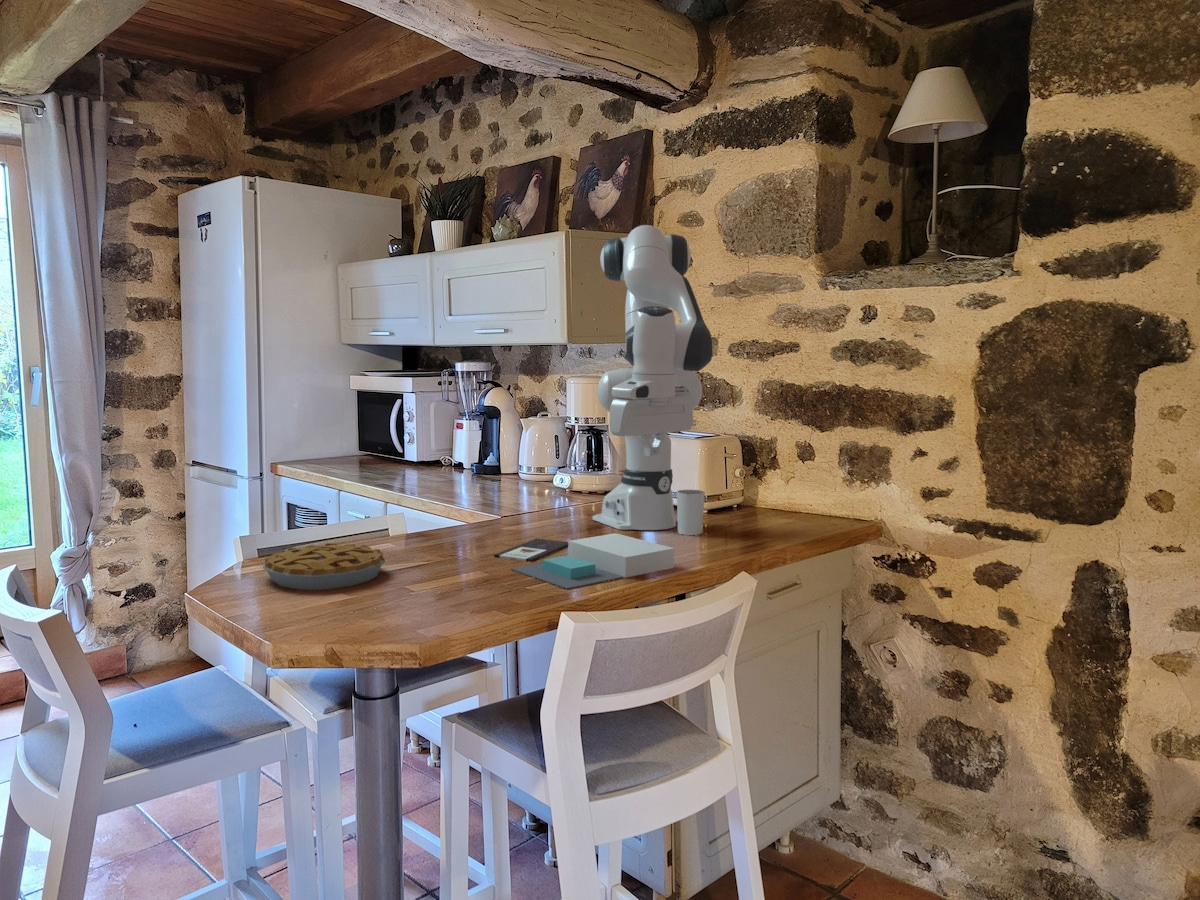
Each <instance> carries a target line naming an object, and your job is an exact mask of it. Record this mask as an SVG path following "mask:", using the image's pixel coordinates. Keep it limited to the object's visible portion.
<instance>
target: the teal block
mask: <svg viewBox="0 0 1200 900" xmlns="http://www.w3.org/2000/svg"><path fill="white" fill-rule="evenodd" d="M542 563H543V570H545V571H548V572H551V573H554V574H557V575H560V576H563V577H566V578H569V579H574V578H579V577H584V576H589V575H594V574H595V564H593V563H590V562H587V561H583V560H580V559H577V558H574V557H570V556H568V555H562V556H556V557H551V558H545V559H544V558H543V559H542Z"/></svg>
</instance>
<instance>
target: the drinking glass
mask: <svg viewBox="0 0 1200 900" xmlns="http://www.w3.org/2000/svg"><path fill="white" fill-rule="evenodd" d="M705 496H706V492H705V491H703V490H698V489H680V490H677V491H676V507H677V509H676V510H677V511H676V514H677V516H676V517H677V518H676V522H677V534H678V533H679V534H678V535H681V534H684V535H683V536H689V535H695V536H699V535H698V534H701V533H703V522H704V509H705V498H706V497H705ZM701 535H702V534H701Z"/></svg>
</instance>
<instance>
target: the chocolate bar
mask: <svg viewBox="0 0 1200 900" xmlns="http://www.w3.org/2000/svg"><path fill="white" fill-rule="evenodd" d="M566 548H568V541H560V540H559V541H558V540H552V539H544V538H543V539H541V538H534V539H531V540H529V541H526V542H524V543H521V544H519V545H515V546H513V547H511V548H508V549H506V550H503V551H500V552H497V553H494V554H493V557H494V558H498V559H505V560H506V559H507V560H513V561H514V560H515V561H519V562H520V561H521V562H528V561H530V563H532V561H533V562H535V561H537V559H538V560H540V559H542V558H544V556H545V557H547V556H549V555H552V554H554V553H557V552H558V551H561V550H563V549H566ZM556 551H557V552H556ZM551 553H552V554H551ZM546 555H547V556H546ZM539 558H540V559H539Z"/></svg>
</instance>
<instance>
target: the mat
mask: <svg viewBox="0 0 1200 900" xmlns="http://www.w3.org/2000/svg"><path fill="white" fill-rule="evenodd" d="M511 571H513V572H516V573H518V574H521V575H525V576H527V575H528V576H527V577H530V576H531V577H530V578H533V577H534V578H533V579H535V578H537V579H536V580H538V579H540V580H539V581H541V580H543V581H542V582H544V581H546V582H545V583H547V582H549V583H548V584H550V583H552V584H555V585H557V586H556V587H558V586H560V587H559V588H561V587H562V588H561V589H564V588H565V589H564V590H566V589H568V590H572V589H576V588H582V587H586V586H592V585H597V584H600V583H599V582H602V583H605V582H604V581H607V582H609V581H608V580H612V581H614V580H613V579H617V580H621V579H624V577H623V576H620V575H617V574H613V573H610V572H607V571H604V570H601V569H597V568H595V574H594V575H589V576H584V577H579V578H574V579H569V578H566V577H563V576H560V575H557V574H554V573H551V572H548V571H545V570H543V562H541V563H540V562H539V563H535V564H528V565H523V566H518V567H513V568H511ZM620 578H621V579H620ZM596 583H597V584H596ZM552 584H551V585H552ZM591 584H592V585H591ZM555 585H554V586H555Z"/></svg>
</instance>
